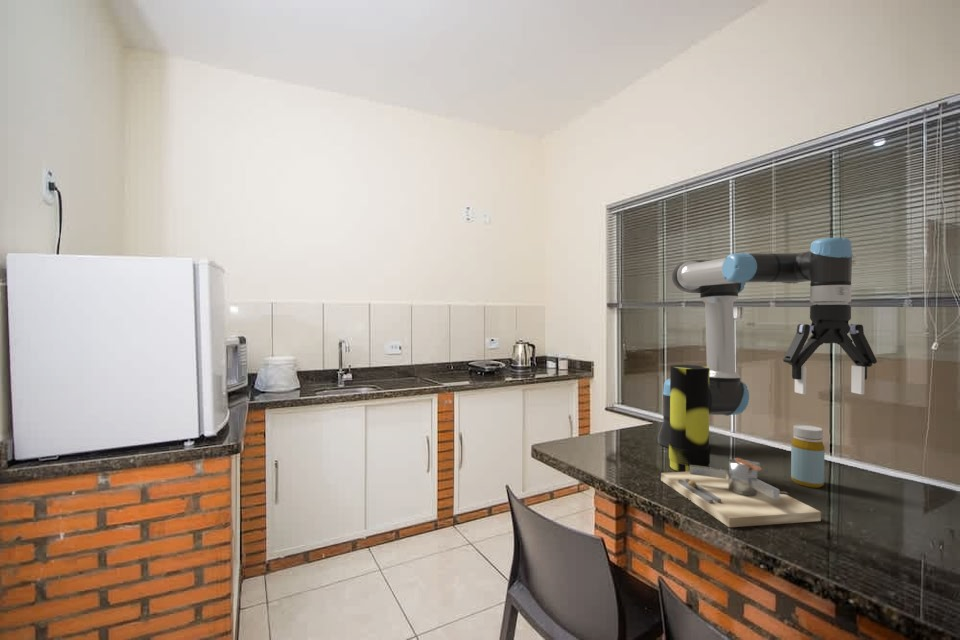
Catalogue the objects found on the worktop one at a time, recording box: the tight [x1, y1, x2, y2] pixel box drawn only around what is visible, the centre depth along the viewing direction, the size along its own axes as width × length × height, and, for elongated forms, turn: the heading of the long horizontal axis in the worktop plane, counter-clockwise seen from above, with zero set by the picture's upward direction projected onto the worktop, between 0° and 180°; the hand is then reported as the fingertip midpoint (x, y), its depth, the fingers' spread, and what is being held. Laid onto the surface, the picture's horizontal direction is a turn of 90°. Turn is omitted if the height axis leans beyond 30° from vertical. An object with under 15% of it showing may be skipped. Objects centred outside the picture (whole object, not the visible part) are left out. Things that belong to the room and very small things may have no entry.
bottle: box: [790, 424, 826, 489], centre depth 113 cm, size 7×7×15 cm
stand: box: [660, 469, 822, 528], centre depth 104 cm, size 26×23×4 cm
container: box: [668, 364, 711, 472], centre depth 124 cm, size 11×11×30 cm
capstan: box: [690, 457, 780, 499], centre depth 102 cm, size 17×20×7 cm
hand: (829, 393), depth 100 cm, fingers open, 13 cm apart
